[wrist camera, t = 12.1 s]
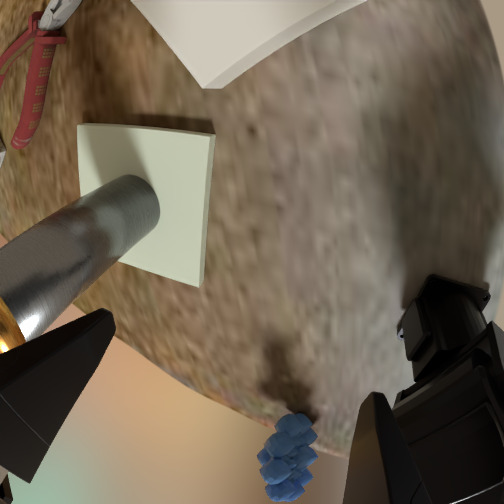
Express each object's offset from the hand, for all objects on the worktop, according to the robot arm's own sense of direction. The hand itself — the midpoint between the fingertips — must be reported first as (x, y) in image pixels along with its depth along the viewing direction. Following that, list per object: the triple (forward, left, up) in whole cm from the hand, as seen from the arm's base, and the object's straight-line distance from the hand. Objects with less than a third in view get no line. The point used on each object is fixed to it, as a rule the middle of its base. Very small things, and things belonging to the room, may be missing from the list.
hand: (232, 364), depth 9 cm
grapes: (-6, +25, -13) cm, 29 cm away
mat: (+12, +2, -13) cm, 18 cm away
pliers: (+25, -10, -14) cm, 30 cm away
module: (+12, +2, -12) cm, 17 cm away
